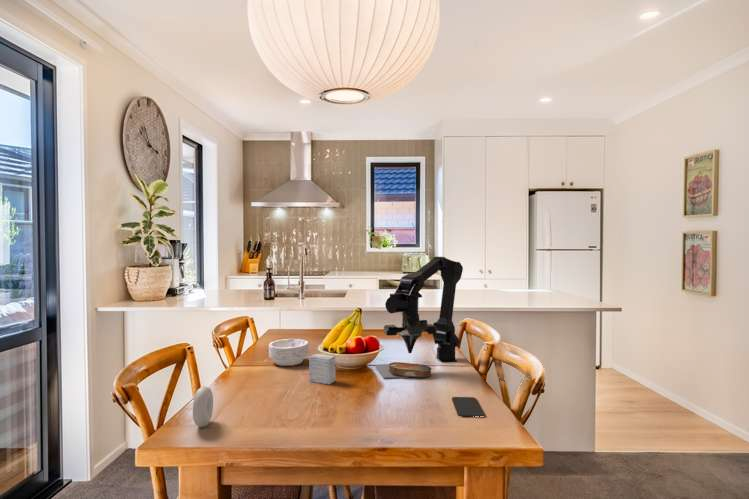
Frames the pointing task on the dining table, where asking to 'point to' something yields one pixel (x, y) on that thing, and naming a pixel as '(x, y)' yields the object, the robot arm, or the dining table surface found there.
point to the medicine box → (322, 368)
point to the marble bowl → (288, 351)
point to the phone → (467, 406)
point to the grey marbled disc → (203, 406)
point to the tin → (409, 369)
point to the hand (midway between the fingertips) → (409, 352)
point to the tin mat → (387, 372)
